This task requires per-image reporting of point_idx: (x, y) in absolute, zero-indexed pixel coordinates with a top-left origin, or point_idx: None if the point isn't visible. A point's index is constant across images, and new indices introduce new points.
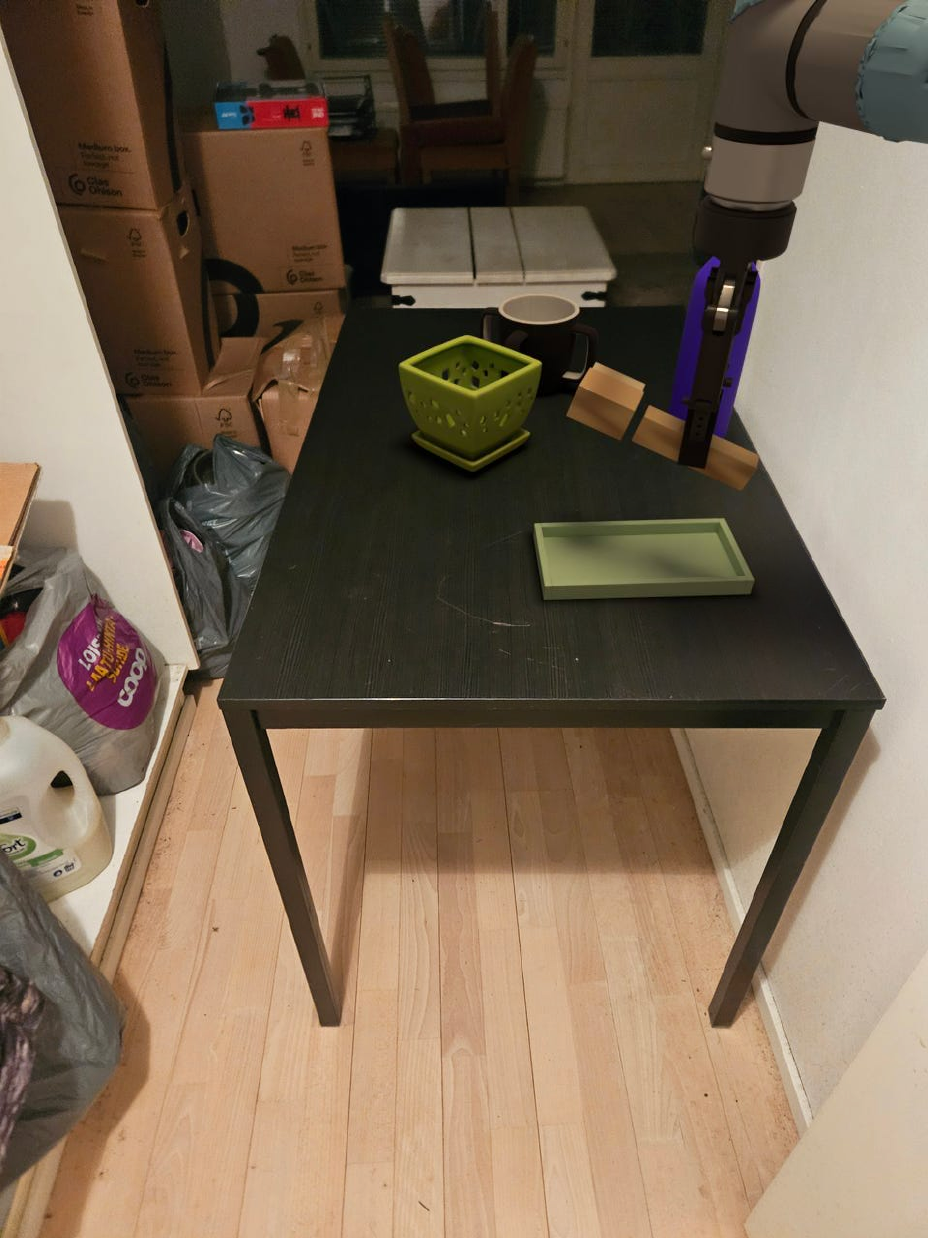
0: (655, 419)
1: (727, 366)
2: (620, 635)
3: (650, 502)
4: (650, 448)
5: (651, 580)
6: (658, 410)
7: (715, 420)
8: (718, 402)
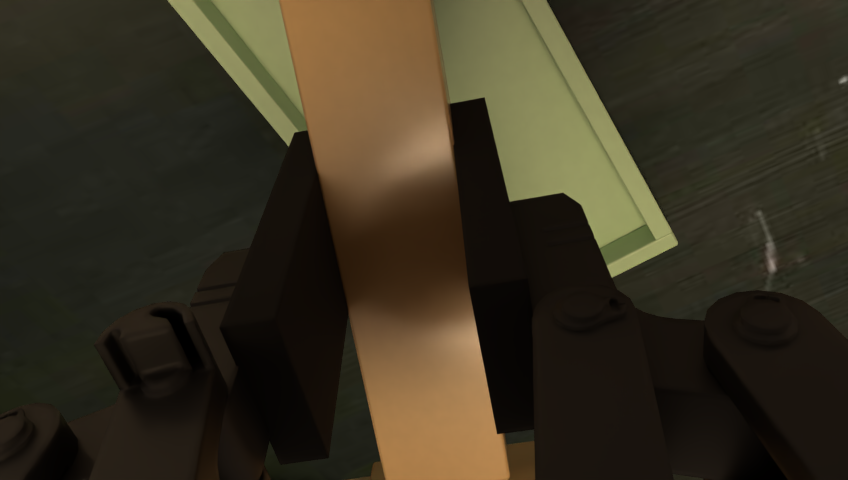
0: (486, 434)
1: (166, 477)
2: (729, 22)
3: (149, 168)
4: None
5: (550, 34)
6: (391, 449)
7: (515, 228)
8: (782, 340)
